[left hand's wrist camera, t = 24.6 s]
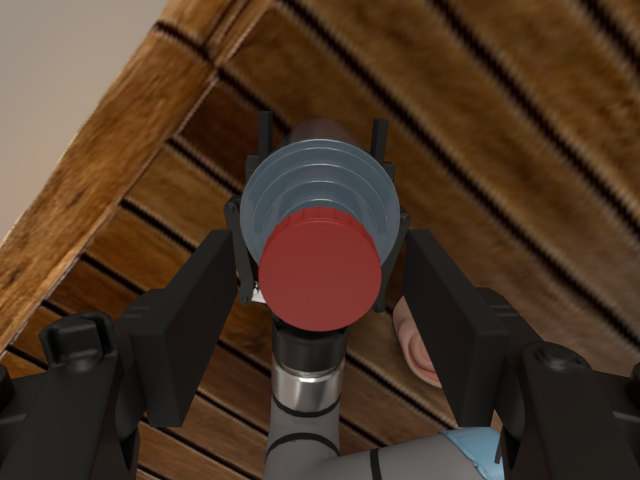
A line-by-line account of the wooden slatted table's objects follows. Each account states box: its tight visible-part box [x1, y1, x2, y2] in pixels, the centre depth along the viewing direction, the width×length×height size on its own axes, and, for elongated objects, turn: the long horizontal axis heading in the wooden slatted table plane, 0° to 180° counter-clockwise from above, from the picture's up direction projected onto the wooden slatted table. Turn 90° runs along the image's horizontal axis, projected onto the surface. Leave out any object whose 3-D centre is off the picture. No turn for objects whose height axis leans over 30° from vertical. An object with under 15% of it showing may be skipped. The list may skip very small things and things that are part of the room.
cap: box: [258, 206, 382, 331], centre depth 14 cm, size 4×4×2 cm
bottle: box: [240, 118, 400, 266], centre depth 25 cm, size 8×8×25 cm
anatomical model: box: [393, 296, 442, 388], centre depth 42 cm, size 13×4×12 cm
